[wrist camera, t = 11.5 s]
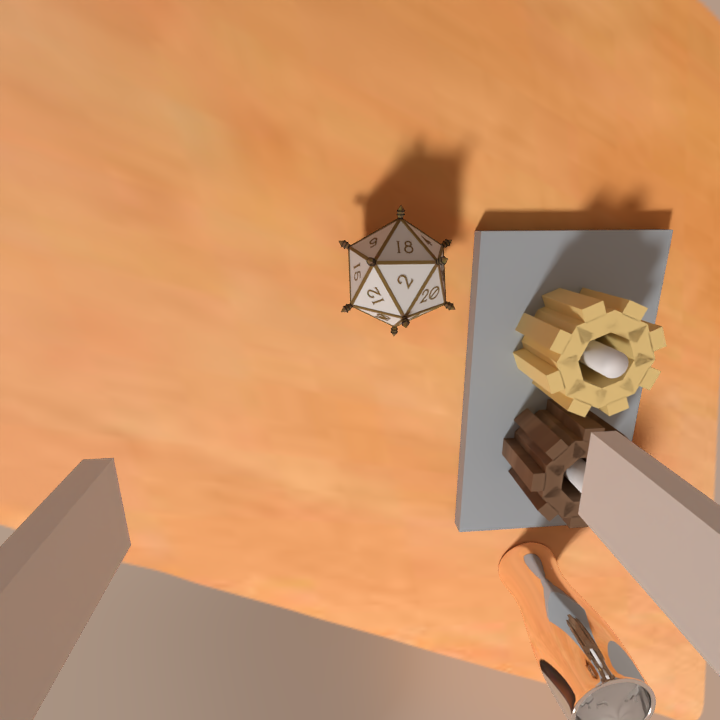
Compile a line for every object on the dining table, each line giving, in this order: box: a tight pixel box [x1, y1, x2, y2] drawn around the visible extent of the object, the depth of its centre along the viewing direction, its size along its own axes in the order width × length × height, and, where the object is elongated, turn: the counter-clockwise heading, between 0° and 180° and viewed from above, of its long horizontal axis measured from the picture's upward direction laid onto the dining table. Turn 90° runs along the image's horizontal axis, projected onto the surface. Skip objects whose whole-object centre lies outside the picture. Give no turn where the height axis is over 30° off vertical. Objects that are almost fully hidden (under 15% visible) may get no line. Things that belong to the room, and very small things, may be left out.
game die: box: [339, 205, 455, 336], centre depth 34 cm, size 9×8×10 cm
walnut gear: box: [502, 399, 628, 528], centre depth 39 cm, size 9×9×6 cm
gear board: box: [455, 229, 673, 532], centre depth 38 cm, size 28×16×8 cm, turn 0°
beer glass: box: [498, 542, 656, 720], centre depth 41 cm, size 7×7×15 cm
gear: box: [513, 288, 666, 417], centre depth 36 cm, size 9×9×6 cm
